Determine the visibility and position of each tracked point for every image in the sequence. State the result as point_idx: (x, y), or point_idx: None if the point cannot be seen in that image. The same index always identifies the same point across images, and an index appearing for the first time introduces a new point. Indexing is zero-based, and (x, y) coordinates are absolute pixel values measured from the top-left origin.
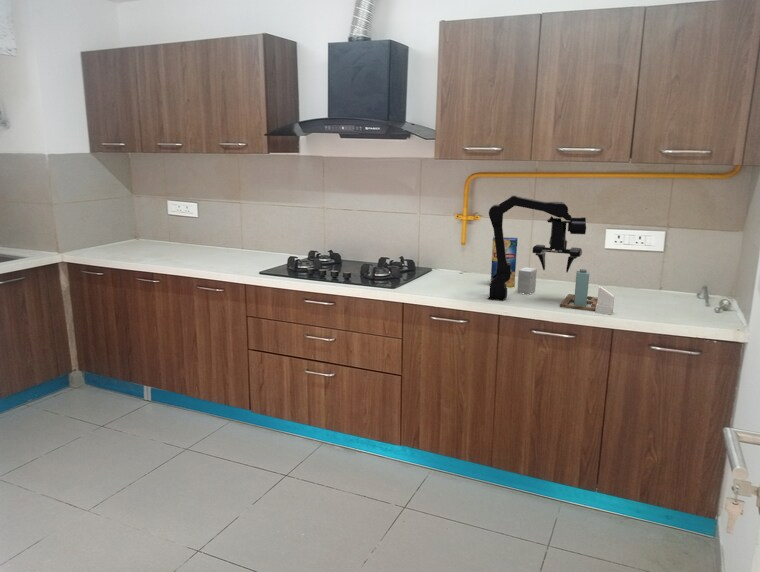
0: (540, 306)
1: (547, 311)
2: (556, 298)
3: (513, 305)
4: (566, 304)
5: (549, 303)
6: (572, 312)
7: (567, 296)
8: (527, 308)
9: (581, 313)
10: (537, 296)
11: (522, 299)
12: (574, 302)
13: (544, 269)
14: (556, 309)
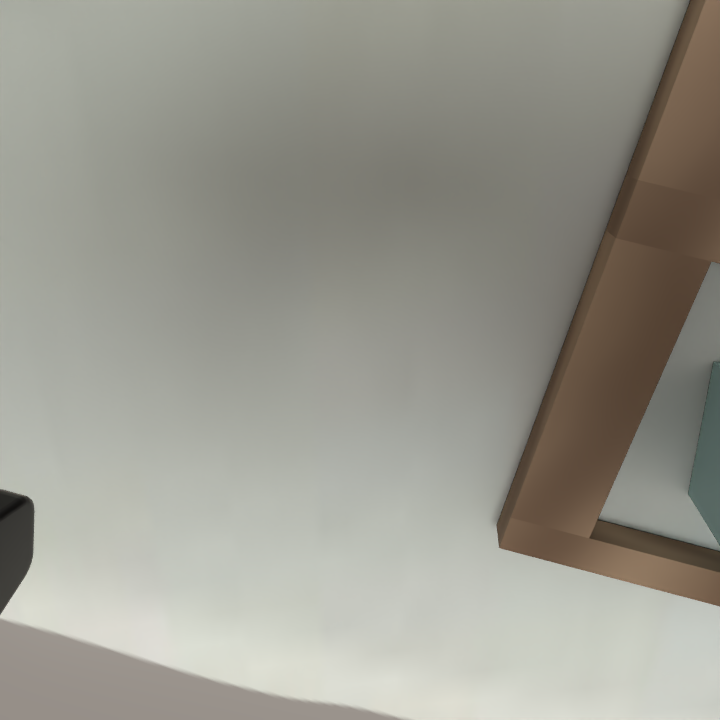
0: (283, 535)
1: (358, 685)
2: (501, 73)
3: None
4: (583, 549)
5: (384, 392)
6: (612, 686)
7: (694, 77)
8: (164, 621)
9: (704, 706)
10: (207, 25)
11: (44, 274)
12: (716, 458)
13: (13, 580)
14: (452, 613)
